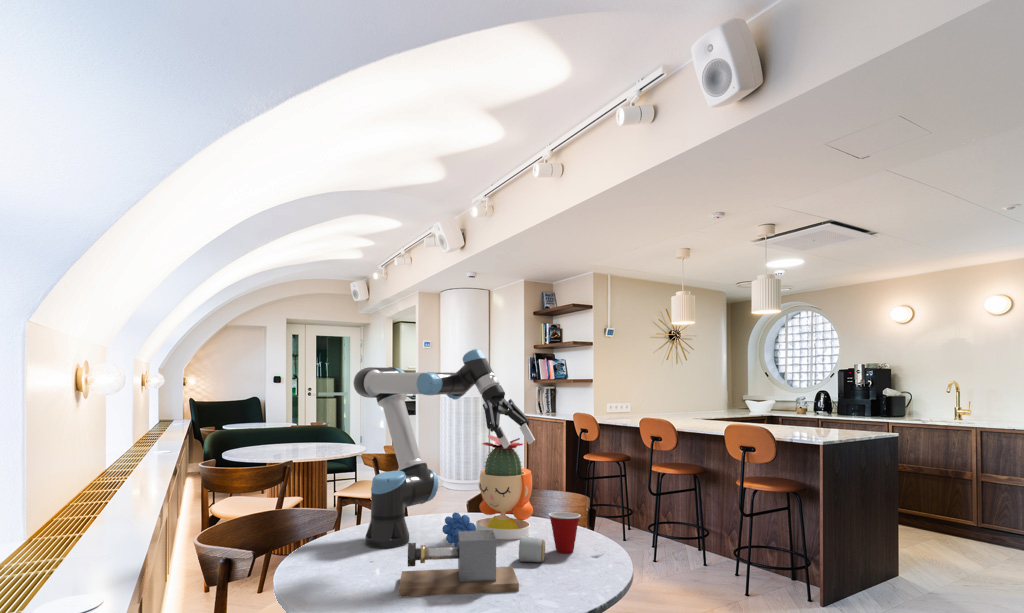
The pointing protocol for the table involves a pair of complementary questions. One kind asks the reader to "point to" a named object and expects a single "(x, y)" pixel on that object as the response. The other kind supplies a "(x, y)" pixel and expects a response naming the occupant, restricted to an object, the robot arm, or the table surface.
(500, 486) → the potted cactus
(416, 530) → the table surface
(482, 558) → the bearing block
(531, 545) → the ceramic mug
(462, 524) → the grapes
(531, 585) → the table surface
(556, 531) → the plastic cup
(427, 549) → the shaft
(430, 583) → the base plate
